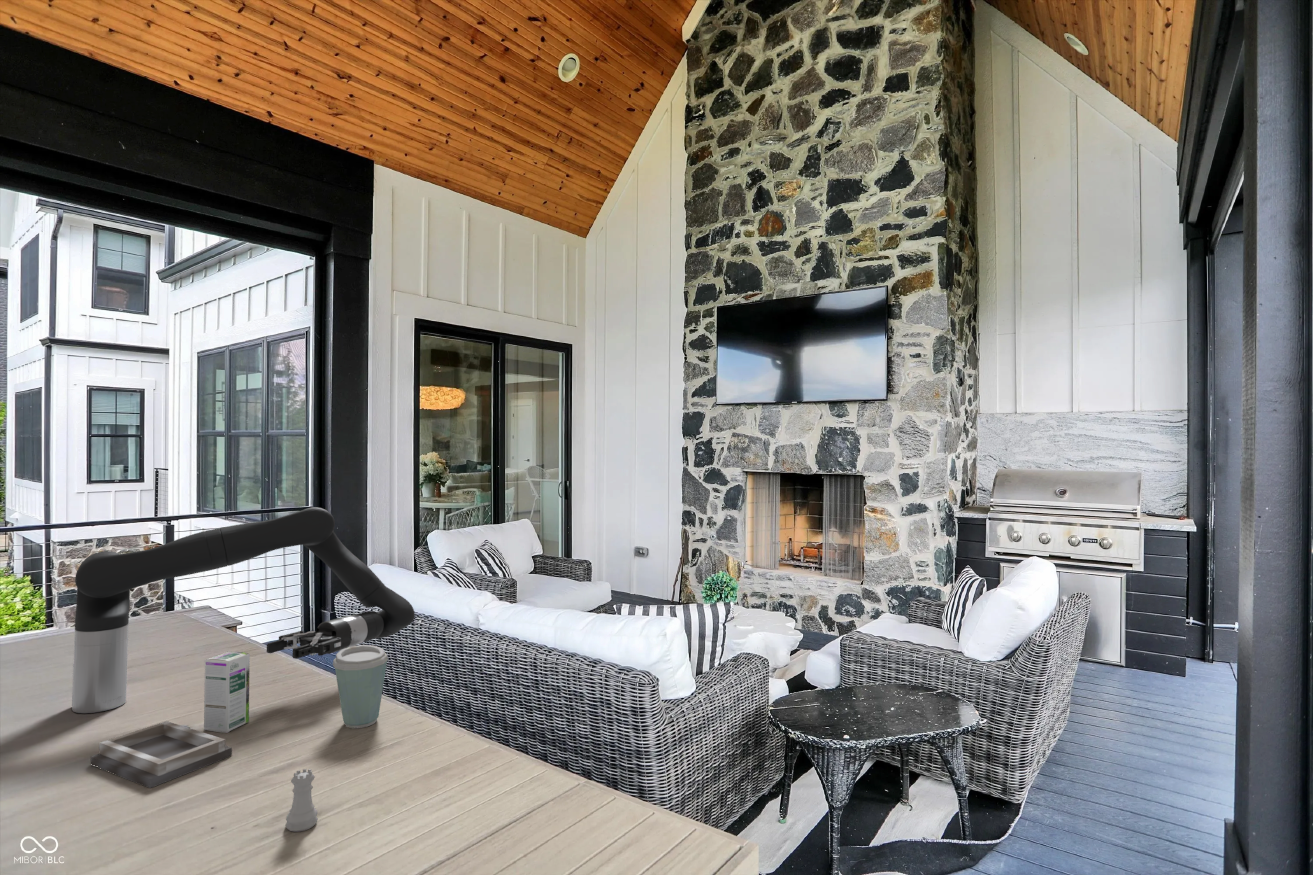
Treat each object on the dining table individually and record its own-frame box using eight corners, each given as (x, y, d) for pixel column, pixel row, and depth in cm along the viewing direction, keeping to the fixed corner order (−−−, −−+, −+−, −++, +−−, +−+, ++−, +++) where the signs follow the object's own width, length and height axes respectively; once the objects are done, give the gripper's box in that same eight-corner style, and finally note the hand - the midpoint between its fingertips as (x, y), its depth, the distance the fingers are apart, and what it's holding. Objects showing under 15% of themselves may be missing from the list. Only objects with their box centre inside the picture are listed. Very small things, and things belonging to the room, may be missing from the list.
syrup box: (227, 733, 140) (229, 660, 140) (202, 730, 141) (204, 657, 141) (249, 722, 146) (251, 652, 146) (224, 719, 147) (227, 650, 147)
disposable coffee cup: (395, 723, 147) (397, 651, 147) (344, 738, 139) (346, 661, 139) (372, 709, 154) (374, 640, 154) (322, 722, 146) (324, 650, 146)
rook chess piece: (292, 817, 109) (294, 766, 110) (322, 816, 110) (323, 765, 110) (279, 833, 105) (281, 779, 105) (310, 832, 105) (312, 778, 105)
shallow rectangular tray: (90, 764, 125) (91, 745, 125) (173, 736, 138) (173, 718, 138) (150, 787, 118) (150, 766, 118) (231, 755, 130) (232, 736, 130)
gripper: (321, 614, 172) (259, 630, 157) (363, 621, 166) (302, 638, 151) (321, 644, 172) (258, 663, 157) (363, 652, 166) (302, 673, 151)
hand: (280, 651), depth 154 cm, fingers open, 8 cm apart
